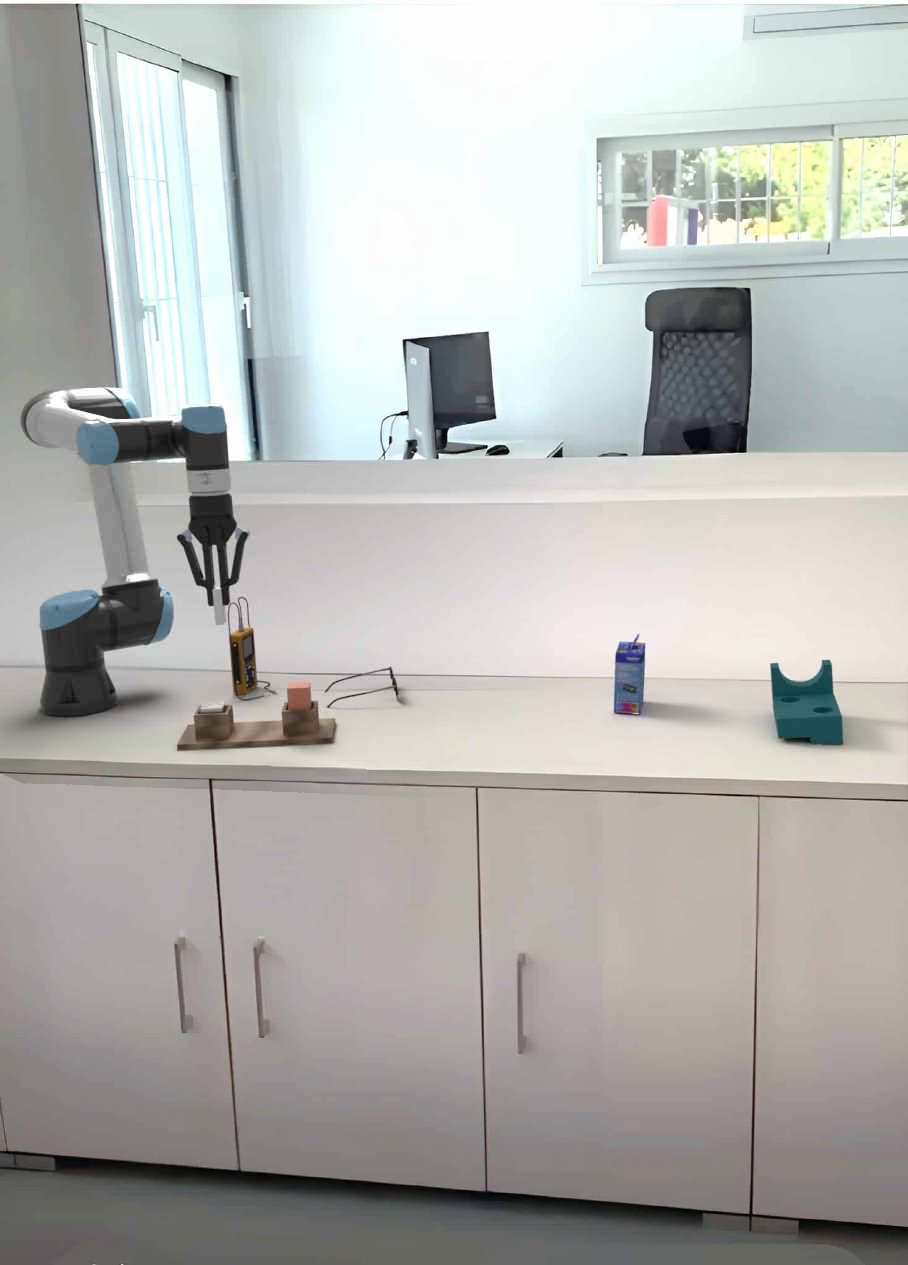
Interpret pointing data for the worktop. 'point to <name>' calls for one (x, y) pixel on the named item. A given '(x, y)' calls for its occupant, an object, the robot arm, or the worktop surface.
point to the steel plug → (213, 708)
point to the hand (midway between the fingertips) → (220, 623)
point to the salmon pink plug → (299, 696)
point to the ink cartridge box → (629, 677)
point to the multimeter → (243, 658)
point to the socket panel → (257, 730)
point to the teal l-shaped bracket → (807, 707)
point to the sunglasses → (370, 691)
